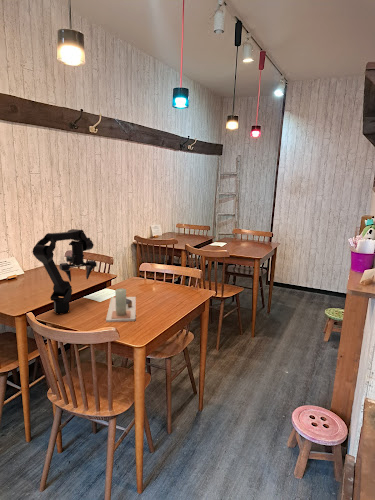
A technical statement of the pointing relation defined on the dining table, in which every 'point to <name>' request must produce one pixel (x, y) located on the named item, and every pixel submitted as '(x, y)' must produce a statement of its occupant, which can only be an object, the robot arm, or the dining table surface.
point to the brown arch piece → (129, 303)
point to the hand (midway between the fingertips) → (78, 280)
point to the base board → (133, 310)
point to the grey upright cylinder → (120, 302)
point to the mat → (120, 316)
